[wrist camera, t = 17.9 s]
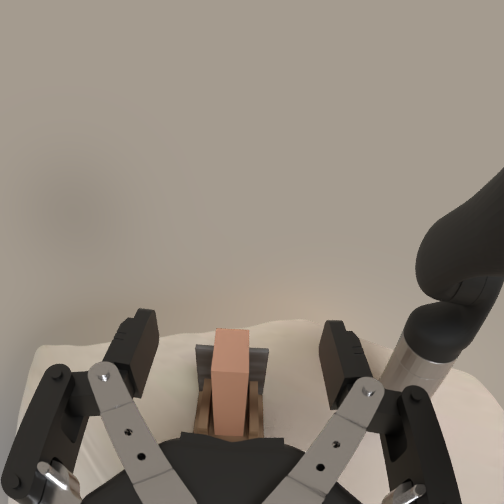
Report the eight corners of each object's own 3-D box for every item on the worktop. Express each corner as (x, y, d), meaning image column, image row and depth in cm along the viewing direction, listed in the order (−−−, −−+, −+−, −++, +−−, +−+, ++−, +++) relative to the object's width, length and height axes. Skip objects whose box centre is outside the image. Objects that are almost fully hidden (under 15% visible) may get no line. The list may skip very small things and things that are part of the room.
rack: (263, 455, 35) (272, 416, 30) (192, 450, 35) (183, 410, 30) (261, 392, 46) (268, 345, 41) (200, 389, 46) (196, 341, 41)
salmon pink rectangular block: (243, 436, 37) (249, 372, 30) (214, 434, 37) (210, 370, 30) (243, 397, 43) (249, 328, 37) (218, 396, 43) (216, 326, 36)
